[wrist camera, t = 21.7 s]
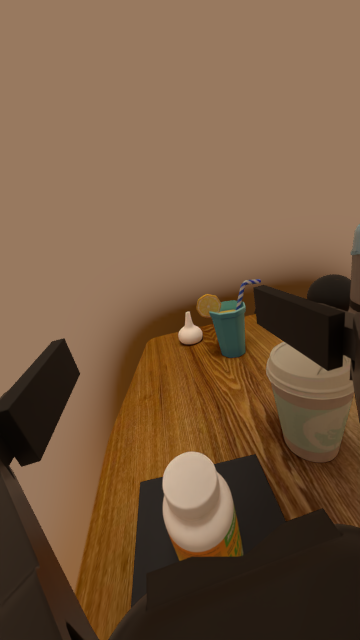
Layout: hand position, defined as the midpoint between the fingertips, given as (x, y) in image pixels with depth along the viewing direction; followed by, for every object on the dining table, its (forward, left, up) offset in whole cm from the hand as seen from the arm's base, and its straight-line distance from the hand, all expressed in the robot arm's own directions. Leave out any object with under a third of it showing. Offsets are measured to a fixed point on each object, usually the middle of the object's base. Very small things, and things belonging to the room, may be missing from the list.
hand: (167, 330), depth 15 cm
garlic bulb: (-39, +3, -21) cm, 44 cm away
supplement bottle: (+3, -1, -20) cm, 20 cm away
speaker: (-35, +38, -21) cm, 56 cm away
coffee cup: (-5, +13, -21) cm, 25 cm away
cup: (-29, +12, -21) cm, 38 cm away
